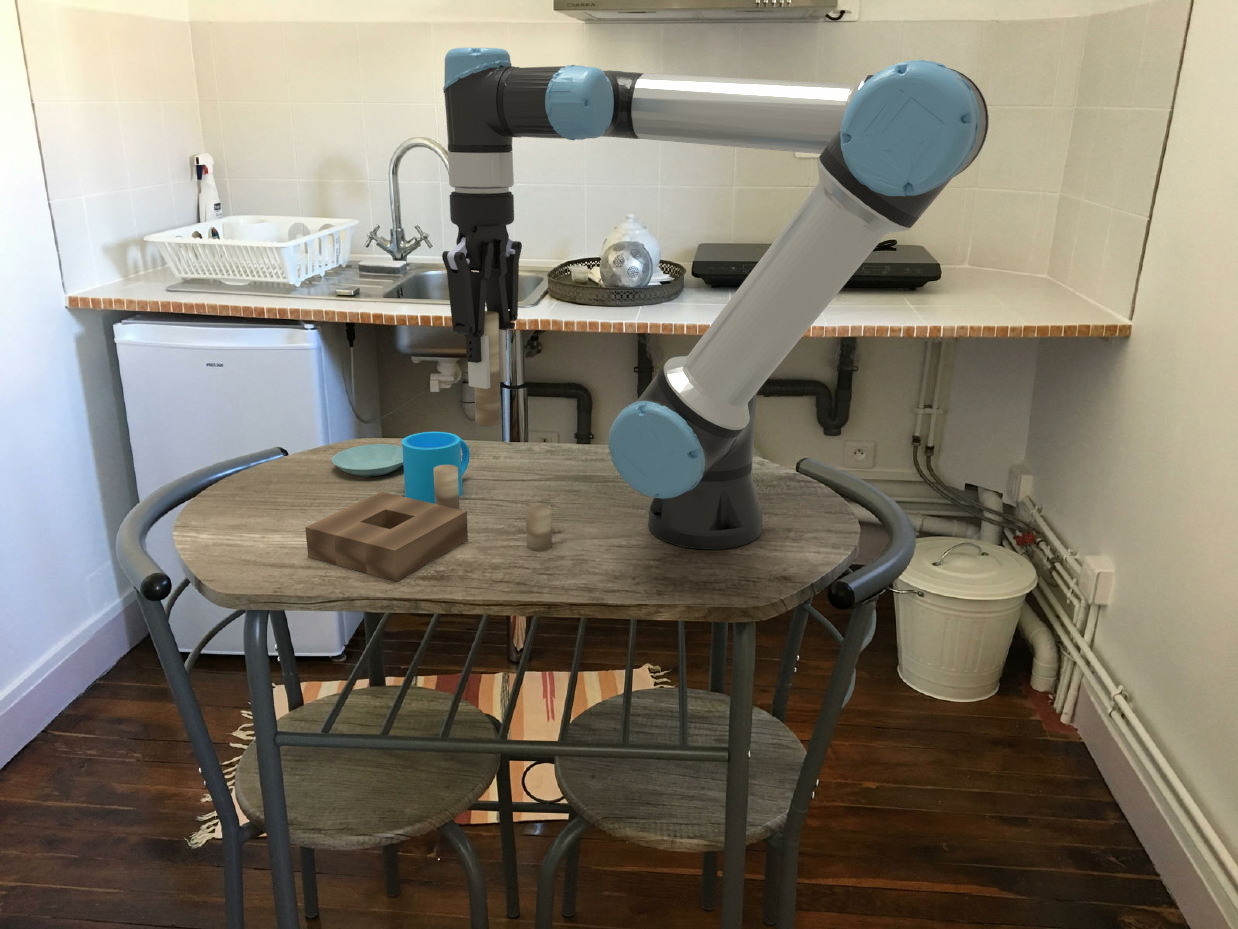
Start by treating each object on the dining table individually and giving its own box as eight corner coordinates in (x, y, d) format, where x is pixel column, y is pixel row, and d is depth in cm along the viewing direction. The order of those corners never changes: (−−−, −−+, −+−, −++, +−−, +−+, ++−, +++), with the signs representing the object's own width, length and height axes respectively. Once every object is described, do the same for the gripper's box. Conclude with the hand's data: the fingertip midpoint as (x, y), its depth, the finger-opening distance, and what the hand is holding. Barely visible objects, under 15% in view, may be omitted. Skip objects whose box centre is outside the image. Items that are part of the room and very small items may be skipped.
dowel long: (505, 421, 129) (503, 312, 124) (491, 427, 126) (488, 316, 122) (485, 417, 130) (482, 309, 126) (470, 423, 128) (466, 313, 123)
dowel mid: (464, 515, 138) (462, 467, 136) (450, 523, 136) (447, 474, 133) (445, 510, 140) (443, 463, 137) (431, 518, 137) (428, 470, 135)
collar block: (467, 539, 130) (466, 511, 129) (396, 581, 119) (394, 550, 117) (383, 519, 137) (381, 491, 135) (308, 557, 125) (305, 527, 124)
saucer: (356, 488, 148) (355, 474, 147) (319, 468, 156) (317, 454, 155) (426, 471, 155) (425, 456, 155) (387, 452, 164) (386, 439, 163)
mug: (436, 508, 141) (433, 453, 138) (393, 497, 145) (389, 442, 142) (490, 483, 150) (488, 431, 148) (448, 473, 154) (445, 422, 152)
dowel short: (556, 544, 130) (556, 508, 128) (543, 553, 127) (542, 516, 125) (535, 539, 131) (535, 503, 129) (521, 548, 128) (521, 511, 127)
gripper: (494, 184, 127) (500, 366, 135) (412, 192, 114) (423, 394, 121) (544, 186, 124) (547, 373, 132) (466, 195, 110) (474, 402, 118)
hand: (488, 383), depth 127 cm, fingers closed on dowel long, 3 cm apart
